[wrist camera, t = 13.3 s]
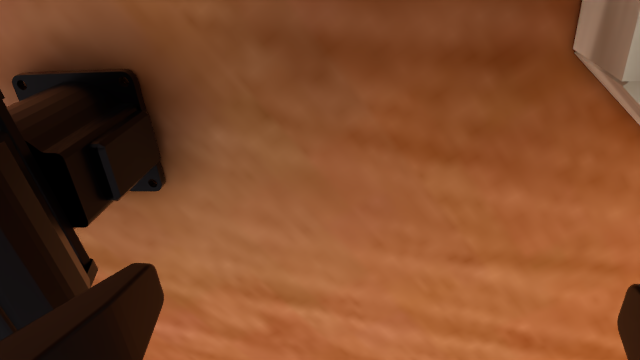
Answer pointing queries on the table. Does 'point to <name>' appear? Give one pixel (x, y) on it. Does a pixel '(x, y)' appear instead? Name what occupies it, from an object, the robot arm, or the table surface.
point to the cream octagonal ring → (612, 48)
